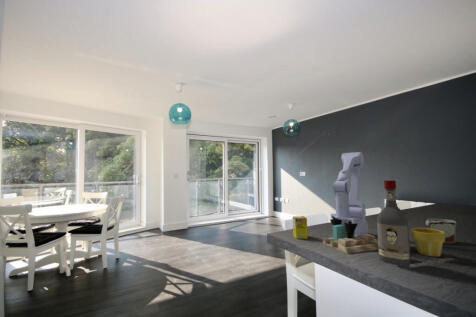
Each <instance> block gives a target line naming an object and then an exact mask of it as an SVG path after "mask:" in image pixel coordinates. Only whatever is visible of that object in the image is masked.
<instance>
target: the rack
mask: <svg viewBox="0 0 476 317" xmlns="http://www.w3.org/2000/svg"><path fill="white" fill-rule="evenodd" d="M355 238H358V236H356V235H355ZM321 243H323V244H325V245H327V246H329V247H331V248H334V249H337V250H338V251H341V252H343V253H345V254H348V255H349V254H357V253H362V252H363V253H364V252H369V251H377V250H378V251H379V248H378V242H375V243H374V244H367V245H359V246H352V247H345V251H343V250H341V249H338V241H333V237H327V238H323V242H321Z"/></svg>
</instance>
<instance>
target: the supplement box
mask: <svg viewBox="0 0 476 317" xmlns="http://www.w3.org/2000/svg"><path fill="white" fill-rule="evenodd" d="M307 218H308V217H305V216H304V215H302V216H301V215H296V216H295V215H292V228H293V229H292V230H293V231H292V232H293V237H294V238H295V239H296V240H297V239H301V240H302V239H304V240H305V239H308V219H307Z"/></svg>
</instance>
